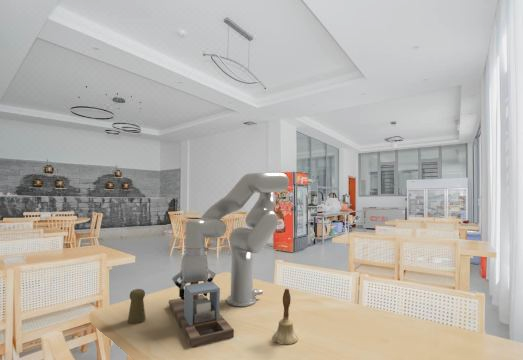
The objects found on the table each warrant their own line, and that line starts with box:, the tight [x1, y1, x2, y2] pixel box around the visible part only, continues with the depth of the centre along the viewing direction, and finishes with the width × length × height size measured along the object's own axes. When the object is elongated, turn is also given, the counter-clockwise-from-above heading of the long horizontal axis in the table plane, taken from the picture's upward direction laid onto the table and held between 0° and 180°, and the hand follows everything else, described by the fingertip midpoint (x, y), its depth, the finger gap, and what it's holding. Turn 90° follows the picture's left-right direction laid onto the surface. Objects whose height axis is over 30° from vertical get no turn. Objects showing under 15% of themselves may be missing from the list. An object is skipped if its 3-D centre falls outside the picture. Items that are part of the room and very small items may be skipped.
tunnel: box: [184, 281, 221, 326], centre depth 105 cm, size 8×10×11 cm
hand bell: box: [272, 288, 299, 345], centre depth 97 cm, size 8×8×16 cm
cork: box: [127, 288, 146, 325], centre depth 108 cm, size 6×6×11 cm
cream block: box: [193, 297, 211, 314], centre depth 105 cm, size 5×5×6 cm
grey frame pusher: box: [189, 282, 215, 323], centre depth 108 cm, size 15×7×10 cm, turn 28°
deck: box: [168, 294, 235, 348], centre depth 109 cm, size 35×14×2 cm, turn 28°
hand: (193, 296), depth 114 cm, fingers open, 8 cm apart
